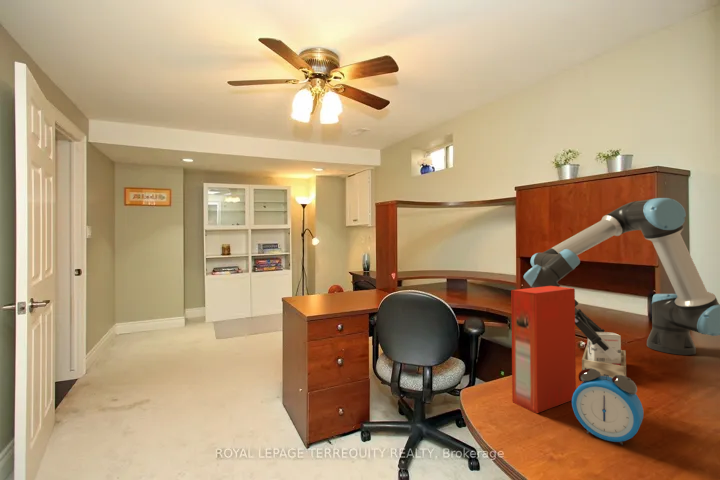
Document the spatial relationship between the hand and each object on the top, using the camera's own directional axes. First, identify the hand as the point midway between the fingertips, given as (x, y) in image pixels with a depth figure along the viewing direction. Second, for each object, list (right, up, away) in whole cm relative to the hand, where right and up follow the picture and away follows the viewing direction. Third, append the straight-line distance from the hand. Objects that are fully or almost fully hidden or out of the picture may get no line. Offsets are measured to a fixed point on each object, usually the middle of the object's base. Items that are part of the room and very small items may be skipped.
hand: (616, 353), depth 118 cm
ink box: (-3, -6, +2) cm, 7 cm away
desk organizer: (0, -7, +5) cm, 9 cm away
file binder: (-34, -8, -18) cm, 39 cm away
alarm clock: (-29, -8, -36) cm, 47 cm away
